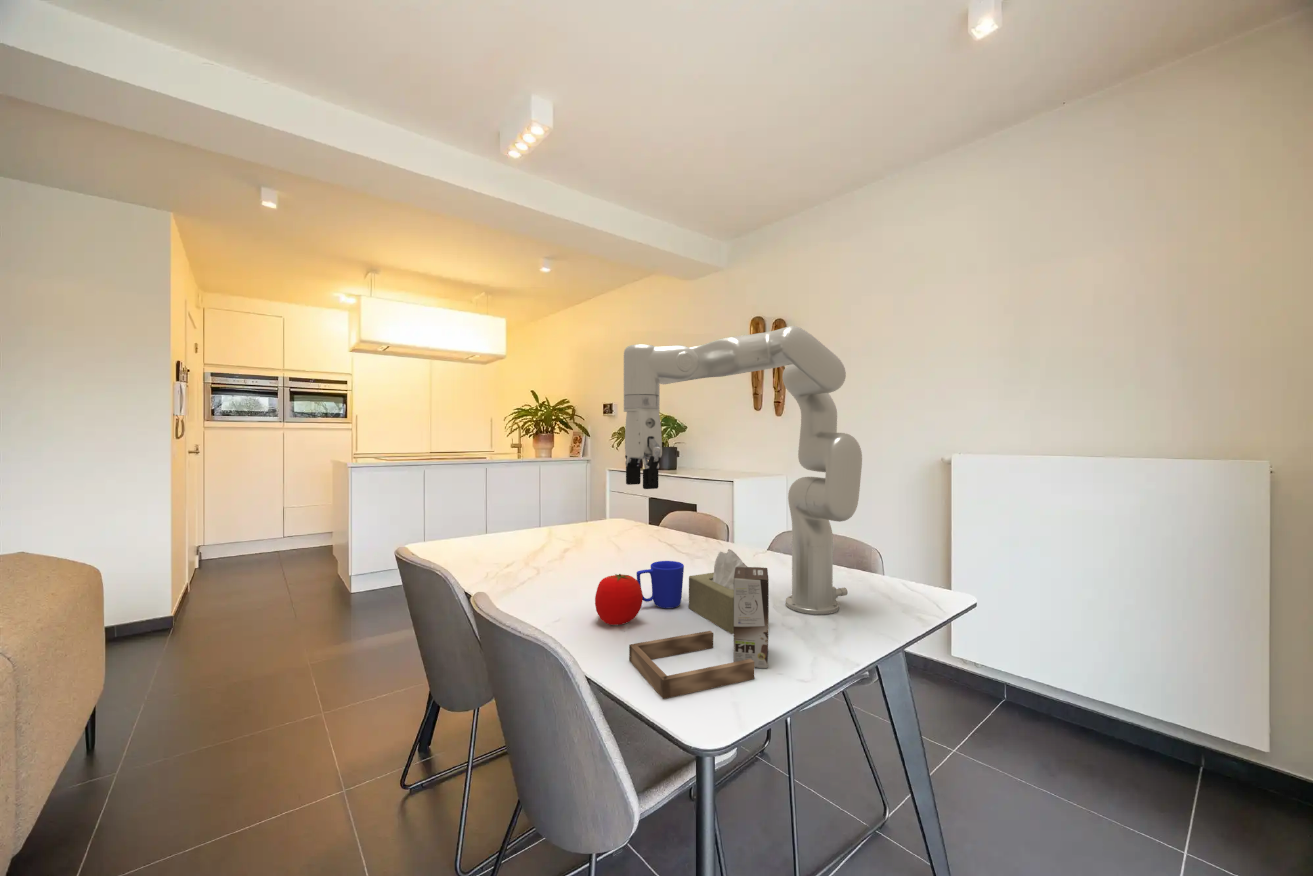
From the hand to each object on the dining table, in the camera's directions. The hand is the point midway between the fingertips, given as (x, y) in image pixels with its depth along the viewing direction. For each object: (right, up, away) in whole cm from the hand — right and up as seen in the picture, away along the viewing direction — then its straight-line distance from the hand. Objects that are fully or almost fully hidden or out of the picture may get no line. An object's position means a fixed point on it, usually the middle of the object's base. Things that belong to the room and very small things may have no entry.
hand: (641, 486), depth 110 cm
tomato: (-5, -31, +8) cm, 33 cm away
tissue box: (+19, -32, +11) cm, 39 cm away
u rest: (+9, -31, -16) cm, 36 cm away
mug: (+4, -31, +18) cm, 37 cm away
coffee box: (+21, -32, -11) cm, 39 cm away
